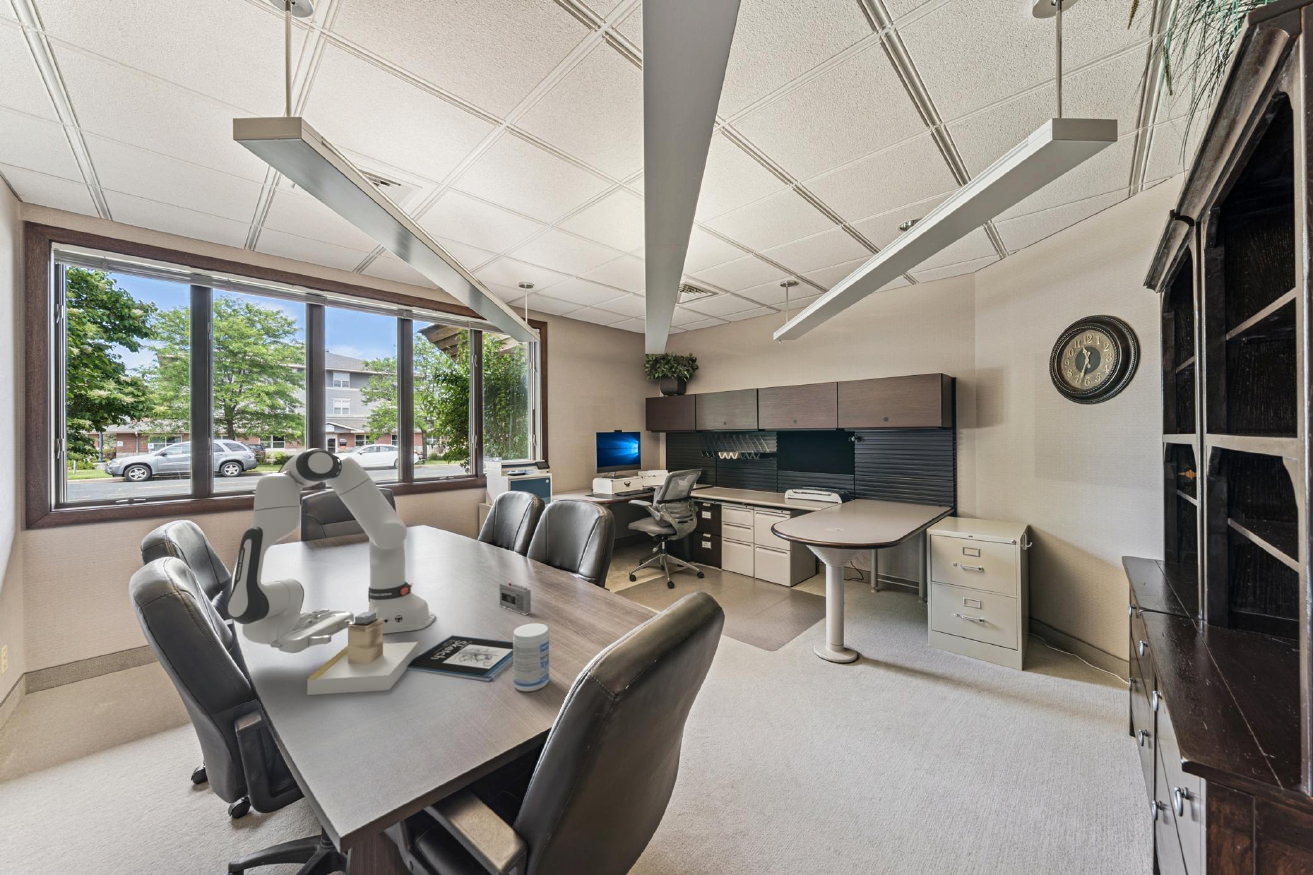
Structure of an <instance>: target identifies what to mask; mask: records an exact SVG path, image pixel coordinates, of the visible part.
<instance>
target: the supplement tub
mask: <svg viewBox="0 0 1313 875" xmlns="http://www.w3.org/2000/svg"><path fill="white" fill-rule="evenodd" d="M512 642H513V662H512V663H513V664H512V670H513V672H512V676H513V677H512V678H513V679H512V680H513V686H514V687H515V689H516V690H518V691H521V692H535V691H538V690H540V689H542V688H544V687H545V686H546V685H547V684H548V683H549V681H550V632H549V627H548V626H547V625H546V624H543V623H538V622H536V623H535V622H533V623H527V624H526V623H525V624H523V625H520V626H518V627H516V628H515V629H514V631H513V636H512Z"/></svg>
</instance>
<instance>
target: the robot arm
mask: <svg viewBox="0 0 1313 875" xmlns="http://www.w3.org/2000/svg"><path fill="white" fill-rule="evenodd" d="M320 483H325V484H327V485H329V487H331V488H332V489H333V490H334V492H335V494H336V495H337V496H338V497H339V498H340V500H341V501H342V503H343V504H344V505H345V507H346V508H347V509H348V511H350V512H349V513H351V515H352V516H353V517H354V519H355V520H356V521H357V524H359V526H360V527H361V528H362V530H363V531H364V533H365V534H366V536H367V537H368V539H369V540H368V541H369V542H368V543H369V544H368V546H369V586H368V591H367V592H368V594H367V598H368V611H367V612H374V613H376V618H383V635H386V634H395V633H403V632H411V631H418V630H422V629H425V628H427V627H428V626H429V625H430V626H431V624H432V623H433V622H434V621H435V619H436V616H437V615H436V613H435V612H430V609H429V604H428V602H427V601H426V600H425V599H423V598H422V597H419V595H417V594H415V593H413V592H412V587H413V583H410V584H409V583H408V582H407V581H406V551H405V540H406V538H407V535H408V529H407V525H406V524H405V523H404V521H403V520H402V518H401V517H400V516H399V514H398V513H397V512H396V510H395V509H394V508H393V506H392V505H391V504H390V502H389V501H388V499H387V498H386V496H385V495H384V494H383V492H381V490H380V489H379V487H378V486H377V484H376V482H374V481H373V479H372V477H371V476H370V475H369V474H368V472H367V471H366V470H365V469H364V468H363V467H362V466H361V465H360V464H359V463H358V462H357V461H356V460H355V459H354V458H352V457H350V456H345V455H344V456H338V455H334V454H333V453H332V452H331V451H328V450H327V449H323V448H309V449H306V450H304V451H302V452H299V453H297V454H295V455H293V456H292V457H291V458H290V459H288V460H286V461H285V462H284V463H283V464H282V466H281V467H280V468H279V470H278V472H276V473H271V474H270V473H269V474H267V475H265V476H262V477H261V478H260V479H258V482H257V484H256V488H255V492H254V499H253V519H252V522H251V525H250V527H249V529H247V530H246V531H245V532H244V533H243V535H242V538H241V541H240V545H239V548H238V556H237V561H236V566H235V574H234V580H233V585H232V590H231V592H230V595H229V598H228V601H227V605H226V612H227V614H228V616H229V617H230V619H231V620H233V621H235V622H236V623H238V624H240V625H242V634H243V636H244V637H245V639H247V640H248V641H250V642H252V643H256V644H261V645H269V646H270V647H271V648H273V649H274V648H275V649H277V650H278V651H279V652H284V653H288V654H296V653H297V654H298V653H300V652H303V651H305V650H306V649H308V648H311V647H312V646H313V647H314V646H317V645H328V644H329V643H330V642H331V641H332V636H335V635H336V634H337V633H339V632H341V631H343V630H345V629H348V625H350V624H352V623H354V622H355V616H354V613H353V612H352V611H346V610H345V611H344V610H330V609H329V608H321V609H317V610H314V611H309V612H303V613H302V612H301V610H302V608H303V603H304V601H305V600H304V598H305V590H304V589H305V588H304V587H303V584H301V583H300V581H298V580H296V579H294V578H288V579H281V580H276V581H271V582H267V583H266V582H265V583H262V573H263V568H264V567H263V566H264V559H265V555H266V553H267V551H268V549H269V548H270V547H271V546H273V545H274V544H276V543H277V542H279V541H282V540H284V539H286V538H287V537H288V536H291V535H292V534H293V533H294V532H295V531H296V530H297V529H298V527H299V526H300V523H301V512H302V511H301V502H300V499H301V498H300V497H301V493H302V491H303V490H305V489H308V488H309V487H313V486H317V485H318V484H320Z"/></svg>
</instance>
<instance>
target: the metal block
mask: <svg viewBox="0 0 1313 875" xmlns="http://www.w3.org/2000/svg"><path fill="white" fill-rule="evenodd" d="M375 621H376V613H374V612H368V611H364V612H362V613H360V614H358V615H356V616H354V622H355V625H360V626H368V625H370V624H371V623H373V622H375Z"/></svg>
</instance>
